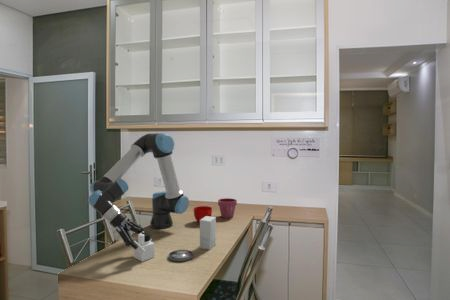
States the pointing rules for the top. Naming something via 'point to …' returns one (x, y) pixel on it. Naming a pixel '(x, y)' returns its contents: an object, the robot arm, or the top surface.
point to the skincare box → (207, 232)
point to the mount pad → (180, 255)
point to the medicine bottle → (145, 247)
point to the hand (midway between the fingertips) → (146, 246)
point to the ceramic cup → (202, 212)
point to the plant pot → (227, 207)
